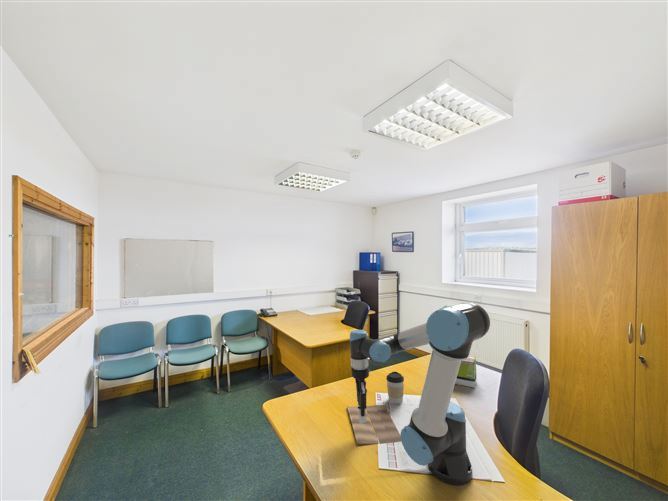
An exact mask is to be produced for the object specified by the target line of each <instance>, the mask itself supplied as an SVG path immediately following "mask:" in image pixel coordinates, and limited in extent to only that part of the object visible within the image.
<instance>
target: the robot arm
mask: <svg viewBox="0 0 668 501" xmlns="http://www.w3.org/2000/svg"><path fill="white" fill-rule="evenodd" d="M490 326H491V319H490V316H489V314H488V312H487V311H486V310H485V308H483V307H482V306H481V305H479V304H477V303H475V302H461V303H459V304H455V305H451V306H444V307H441V308H439V309H437V310H435V311H434V312H432V313H431V314H430V315H429V316H428V318H427V320H426V322H425V323H422V324H420V325H417V326H414V327H411V328H409V329H405V330H402V331H398V332H396V333H394V334H391V335H387V336H382V337H379V338H377V339H373V338H370V337H368V332H367V331H366V330H365V329H353V330H351V331H350V333H349V348H350V349H349V350H350V367H351V369H350V370H351V377H352V378H353V379H354V380H355V387H356V401H357V405H358V406H357V407H358V409H359V422H360V423H366V412H365V409H366V408H367V407H366V406H367V392H368V389H367V387H366V386H367V381H366V380H365V379H368V377H369V376H370V368H369V362H370V359H371V360H373V361H375V362H379V363H385V362H387V361H388V360H389V359H390V358H391V356H392V355H394V354H398V353H401V352H404V351H405V352H406V351H407V350H411V349H416V348H418V347H423V346H427V345H429V346H430V348H431V349H432V351H431V356H430V359H429V364H428V367H427V371H426V375H425V380H424V383H423V386H422V387H423V388H422V391H421V396H420V400H419V403H418V407H416V408H415V409H413V411H412V413H411V416H410V420H409V423H408V424H407V425H405V426H404V427H403V428H401V430H400V433H399V434H400V436H401V444H402V447H403V449H404V451H405V452H406V455H407V456H408V457H409V458H410V459H411V460H412V461H413V462H414V463H415V464H417V465H419V466H428V470H429V471H431V472H430V473H431V474H432V476H434V478H436V479H438V480H439V481H440V482H443V483H445V484H449V485H454V486H461V485H462V486H463V485H466V484H467V483H469V482H470V481H471V479H472V478H473V467H472V466H473V465H472V462H471V460H470V457H469V454H468V451H467V430H466V428H467V427H466V426H467V425H466V423H467V420H466V413H465V410H464V409H463V408H462V406H459V405H458V404H457V403H455V402H451V398H452V395H453V392H454V388H455V385H456V384H455V382H456V378H457V374H458V371H459V367H460V364H461V360H464V359H466V358H468V356H470V353H471V348H472V345H473V342H475V341H477V340H479V339H482V338H483V337H484V336H485V335H486V334H487V333H488V332H489V330H490Z"/></svg>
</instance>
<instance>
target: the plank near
mask: <svg viewBox="0 0 668 501" xmlns="http://www.w3.org/2000/svg"><path fill="white" fill-rule="evenodd" d="M351 429H352V431H353V435H354V436H353V437H354V439H355V443H356V446H367V445H377V444H380V443H379V440H378V438H377V435H376V433H375V430H374V428H373V425H372V423H352V425H351Z"/></svg>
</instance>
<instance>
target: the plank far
mask: <svg viewBox="0 0 668 501" xmlns="http://www.w3.org/2000/svg"><path fill="white" fill-rule="evenodd" d="M346 408H347V413H348V418H349V421H350V424H351V426H352V423H360V422H359V409H358V406H349V405H347V406H346ZM365 412H366V423H371V420H370V418H369V415H368V412H367V410H366V409H365ZM371 424H372V423H371Z"/></svg>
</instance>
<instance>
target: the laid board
mask: <svg viewBox="0 0 668 501" xmlns="http://www.w3.org/2000/svg"><path fill="white" fill-rule="evenodd" d="M366 407H367V408H366V411H367V414H368V417H369V419H370V422H371V424H372V427H373V429H374V432H375V435H376V437H377V440H378V442H379V444H380V445H381V444H391V443H400V442H401V436H400V434H401V433H400V431H399V430H398V428H397V426H396V424H395V423H394V420H393V418H392V417H391V414H390V413H389V411H388V408H387V407H386V405H385V404H380V405H379V404H377V405H366ZM401 443H402V442H401Z"/></svg>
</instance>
